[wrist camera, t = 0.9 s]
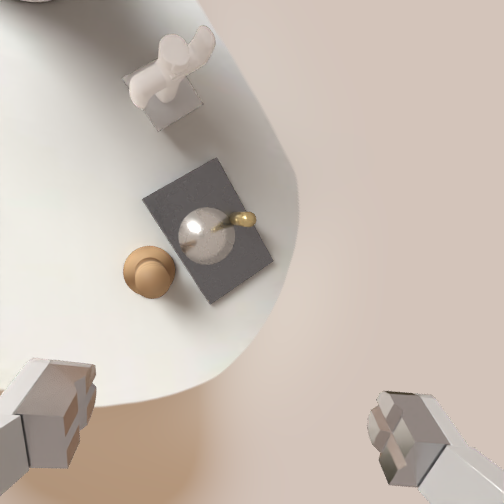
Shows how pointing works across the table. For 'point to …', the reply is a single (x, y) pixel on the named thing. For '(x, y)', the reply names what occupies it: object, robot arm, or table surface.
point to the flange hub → (149, 271)
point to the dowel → (242, 219)
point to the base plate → (208, 230)
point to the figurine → (170, 78)
